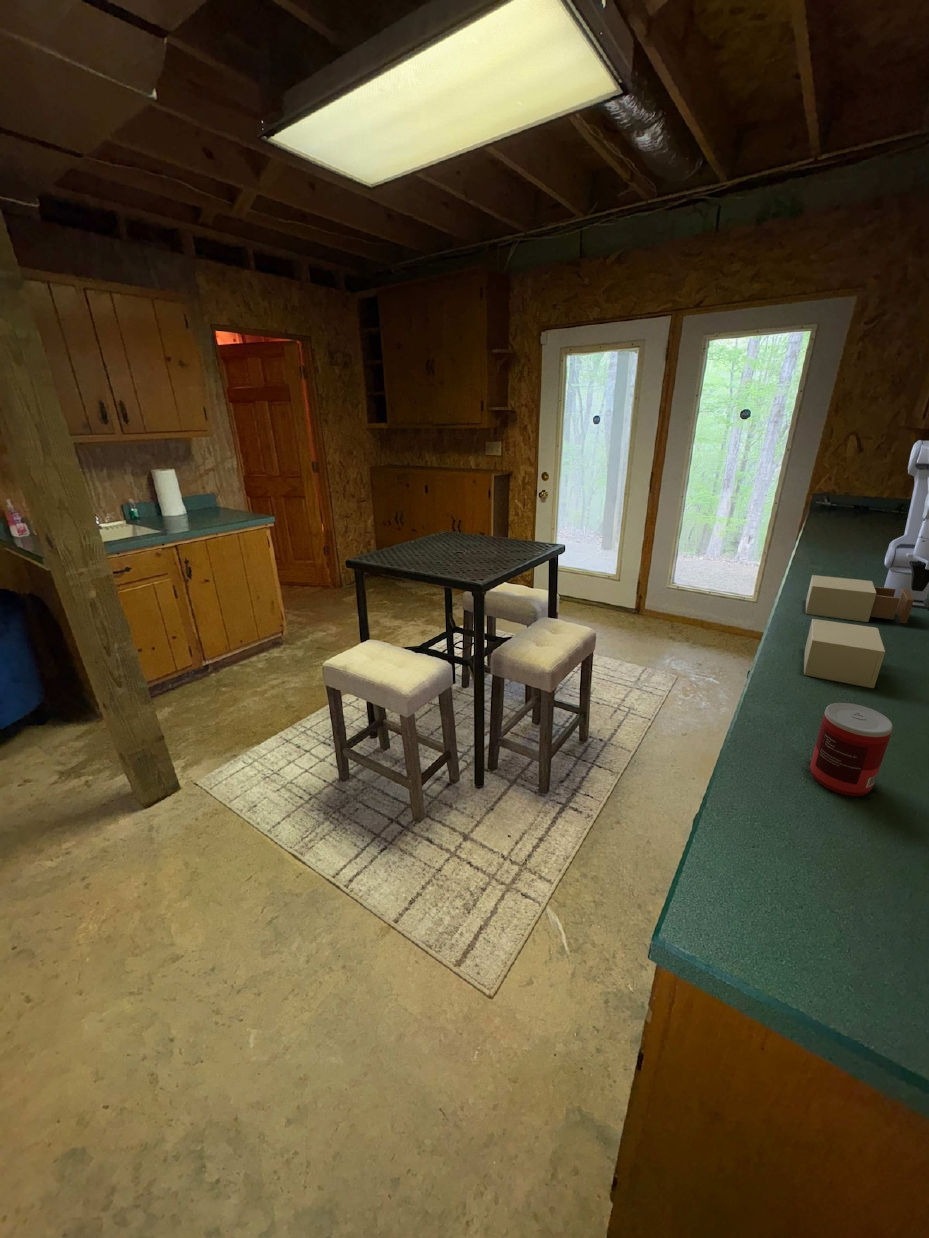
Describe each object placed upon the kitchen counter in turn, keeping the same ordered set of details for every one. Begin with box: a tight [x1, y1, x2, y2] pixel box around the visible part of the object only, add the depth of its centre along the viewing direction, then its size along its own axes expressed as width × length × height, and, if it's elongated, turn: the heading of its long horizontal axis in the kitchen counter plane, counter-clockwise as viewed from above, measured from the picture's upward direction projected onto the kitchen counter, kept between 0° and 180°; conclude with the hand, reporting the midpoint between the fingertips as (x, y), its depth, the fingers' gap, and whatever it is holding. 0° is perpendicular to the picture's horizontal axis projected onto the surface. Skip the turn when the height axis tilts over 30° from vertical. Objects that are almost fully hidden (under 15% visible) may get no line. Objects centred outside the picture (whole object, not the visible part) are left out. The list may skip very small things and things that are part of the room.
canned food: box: [809, 702, 893, 797], centre depth 70 cm, size 8×8×11 cm
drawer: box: [870, 586, 929, 624], centre depth 127 cm, size 17×10×6 cm, turn 56°
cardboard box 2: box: [803, 618, 886, 689], centre depth 103 cm, size 14×12×8 cm
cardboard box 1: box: [805, 574, 876, 623], centre depth 133 cm, size 14×12×8 cm
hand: (916, 590), depth 123 cm, fingers closed
